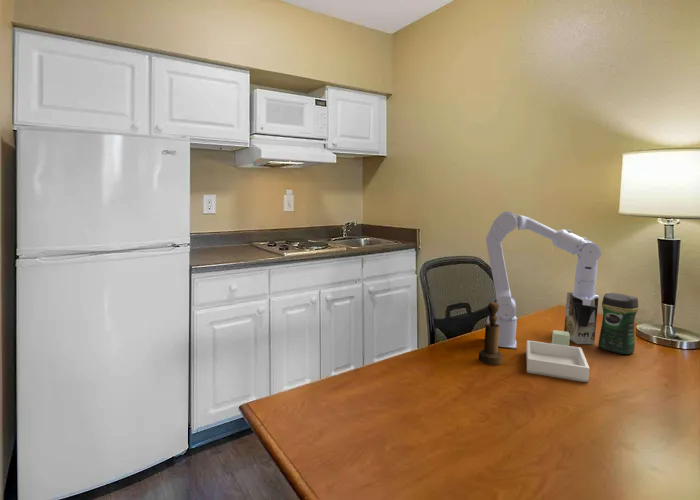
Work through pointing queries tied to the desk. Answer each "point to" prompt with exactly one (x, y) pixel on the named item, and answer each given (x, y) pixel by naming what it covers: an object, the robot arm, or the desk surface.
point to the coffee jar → (618, 323)
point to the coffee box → (571, 324)
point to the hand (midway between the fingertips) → (581, 323)
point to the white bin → (557, 361)
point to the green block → (560, 338)
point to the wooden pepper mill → (491, 339)
